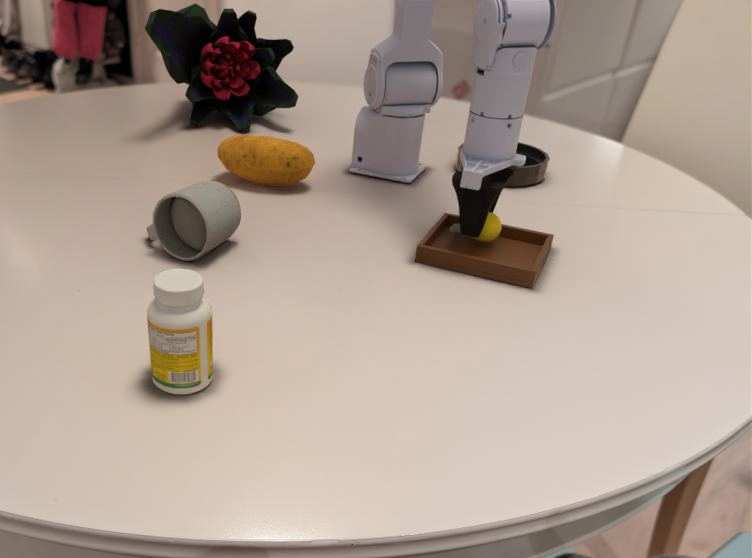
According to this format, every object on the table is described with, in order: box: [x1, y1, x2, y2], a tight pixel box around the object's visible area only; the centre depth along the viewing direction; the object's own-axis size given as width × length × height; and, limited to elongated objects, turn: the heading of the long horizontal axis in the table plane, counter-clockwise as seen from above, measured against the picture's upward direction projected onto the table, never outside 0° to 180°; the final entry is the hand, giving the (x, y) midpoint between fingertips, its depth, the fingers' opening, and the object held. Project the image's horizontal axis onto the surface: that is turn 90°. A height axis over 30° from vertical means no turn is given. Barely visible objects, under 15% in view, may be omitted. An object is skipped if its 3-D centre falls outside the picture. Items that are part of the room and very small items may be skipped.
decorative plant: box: [144, 3, 299, 133], centre depth 123 cm, size 21×26×30 cm
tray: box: [414, 212, 555, 289], centre depth 86 cm, size 13×11×2 cm
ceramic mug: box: [146, 180, 242, 262], centre depth 85 cm, size 11×8×8 cm
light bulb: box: [450, 212, 503, 242], centre depth 87 cm, size 3×6×4 cm, turn 71°
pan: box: [455, 141, 550, 188], centre depth 110 cm, size 13×13×3 cm
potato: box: [216, 134, 316, 187], centre depth 103 cm, size 8×14×7 cm, turn 65°
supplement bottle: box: [146, 268, 214, 395], centre depth 62 cm, size 5×5×10 cm
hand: (474, 229), depth 88 cm, fingers closed on light bulb, 3 cm apart
